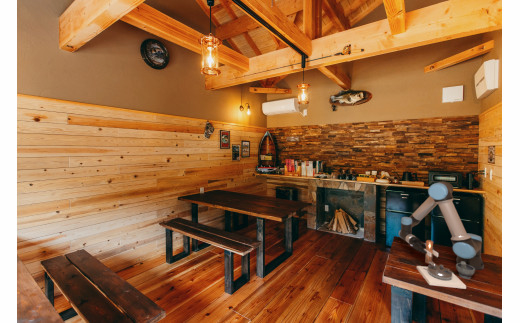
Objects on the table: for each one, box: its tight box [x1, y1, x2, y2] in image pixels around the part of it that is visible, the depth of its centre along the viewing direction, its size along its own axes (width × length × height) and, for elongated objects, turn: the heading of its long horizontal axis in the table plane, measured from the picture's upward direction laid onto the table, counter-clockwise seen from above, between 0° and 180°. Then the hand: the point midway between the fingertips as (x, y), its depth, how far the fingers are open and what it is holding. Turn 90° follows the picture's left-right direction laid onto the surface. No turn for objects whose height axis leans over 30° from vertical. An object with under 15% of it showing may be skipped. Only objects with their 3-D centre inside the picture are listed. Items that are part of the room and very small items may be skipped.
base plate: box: [416, 265, 467, 290], centre depth 157 cm, size 20×20×2 cm
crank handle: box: [425, 239, 453, 280], centre depth 160 cm, size 20×13×19 cm, turn 177°
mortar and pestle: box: [455, 261, 476, 280], centre depth 158 cm, size 11×9×12 cm
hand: (434, 255), depth 162 cm, fingers closed on crank handle, 4 cm apart
